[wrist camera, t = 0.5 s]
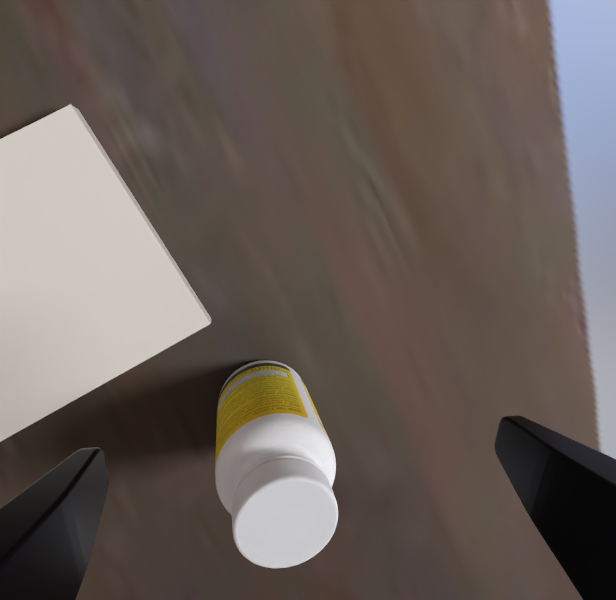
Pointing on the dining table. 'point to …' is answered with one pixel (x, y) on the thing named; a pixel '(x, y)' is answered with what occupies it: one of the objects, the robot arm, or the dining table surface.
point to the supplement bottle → (274, 466)
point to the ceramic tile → (77, 273)
